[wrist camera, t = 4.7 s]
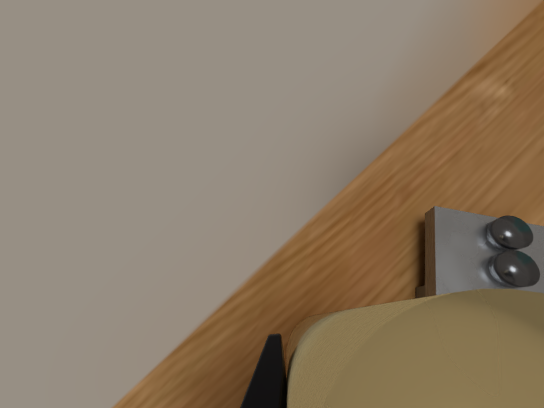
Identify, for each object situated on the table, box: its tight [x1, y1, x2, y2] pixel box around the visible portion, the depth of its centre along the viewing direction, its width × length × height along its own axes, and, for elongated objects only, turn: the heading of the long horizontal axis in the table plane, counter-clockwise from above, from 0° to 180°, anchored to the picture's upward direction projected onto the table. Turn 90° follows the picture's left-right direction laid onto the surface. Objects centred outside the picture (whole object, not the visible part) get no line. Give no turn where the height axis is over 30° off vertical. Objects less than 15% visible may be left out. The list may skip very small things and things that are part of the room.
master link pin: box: [287, 289, 544, 408], centre depth 8 cm, size 4×4×14 cm
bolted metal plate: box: [416, 206, 544, 299], centre depth 15 cm, size 24×10×4 cm, turn 166°
